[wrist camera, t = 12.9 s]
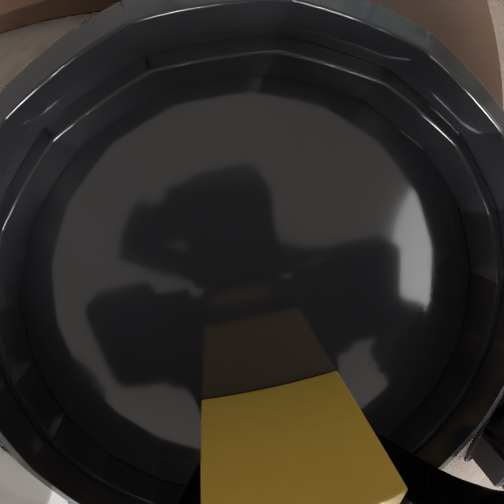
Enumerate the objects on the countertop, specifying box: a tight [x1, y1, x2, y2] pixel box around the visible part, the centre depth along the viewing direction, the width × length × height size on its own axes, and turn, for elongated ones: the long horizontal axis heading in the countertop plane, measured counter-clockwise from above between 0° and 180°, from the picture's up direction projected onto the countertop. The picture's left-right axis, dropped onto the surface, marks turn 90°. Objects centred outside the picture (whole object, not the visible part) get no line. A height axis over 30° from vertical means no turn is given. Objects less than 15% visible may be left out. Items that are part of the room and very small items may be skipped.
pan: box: [0, 0, 504, 504], centre depth 6 cm, size 16×16×3 cm
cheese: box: [201, 371, 407, 504], centre depth 6 cm, size 4×4×4 cm
